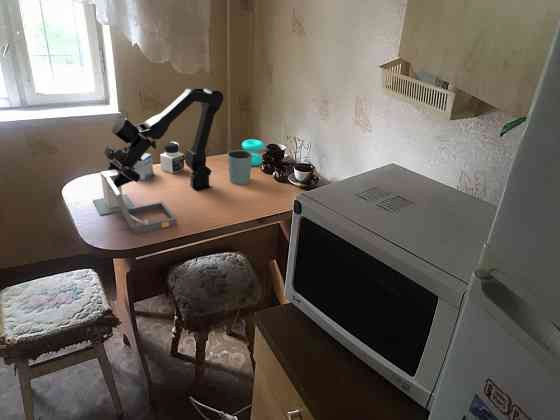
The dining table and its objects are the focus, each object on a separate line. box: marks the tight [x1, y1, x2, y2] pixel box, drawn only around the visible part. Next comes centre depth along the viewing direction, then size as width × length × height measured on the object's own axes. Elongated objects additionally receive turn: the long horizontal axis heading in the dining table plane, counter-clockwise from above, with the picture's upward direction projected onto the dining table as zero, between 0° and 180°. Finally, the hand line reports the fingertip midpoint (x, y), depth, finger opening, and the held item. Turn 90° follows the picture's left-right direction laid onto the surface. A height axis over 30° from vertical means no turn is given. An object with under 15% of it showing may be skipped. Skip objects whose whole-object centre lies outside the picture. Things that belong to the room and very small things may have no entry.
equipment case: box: [106, 177, 178, 235], centre depth 143 cm, size 18×15×15 cm
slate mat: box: [92, 193, 136, 217], centre depth 155 cm, size 12×12×1 cm
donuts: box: [241, 139, 265, 167], centre depth 198 cm, size 10×10×10 cm
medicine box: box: [134, 152, 154, 181], centre depth 177 cm, size 8×4×9 cm, turn 169°
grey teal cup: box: [227, 149, 253, 186], centre depth 178 cm, size 10×10×12 cm
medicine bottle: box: [159, 141, 185, 175], centre depth 184 cm, size 7×7×12 cm
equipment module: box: [99, 169, 123, 208], centre depth 152 cm, size 5×5×12 cm
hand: (107, 185), depth 151 cm, fingers open, 7 cm apart
